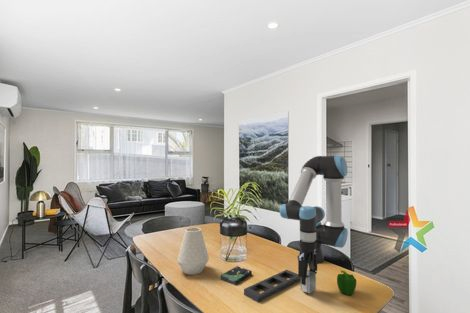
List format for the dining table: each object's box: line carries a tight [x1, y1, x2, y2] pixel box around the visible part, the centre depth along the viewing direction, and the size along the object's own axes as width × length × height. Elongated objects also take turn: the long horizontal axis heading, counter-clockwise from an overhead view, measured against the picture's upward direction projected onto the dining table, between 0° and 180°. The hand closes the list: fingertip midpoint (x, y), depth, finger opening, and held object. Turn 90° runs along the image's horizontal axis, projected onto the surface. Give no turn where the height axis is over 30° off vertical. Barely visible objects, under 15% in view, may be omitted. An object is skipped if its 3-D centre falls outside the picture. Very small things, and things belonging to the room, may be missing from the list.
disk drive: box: [220, 265, 253, 286], centre depth 138 cm, size 10×3×15 cm
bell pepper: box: [336, 270, 357, 296], centre depth 123 cm, size 8×8×10 cm
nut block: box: [300, 269, 317, 294], centre depth 123 cm, size 5×5×8 cm
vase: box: [176, 227, 209, 276], centre depth 146 cm, size 18×17×23 cm
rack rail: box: [243, 269, 301, 303], centre depth 128 cm, size 32×9×2 cm, turn 131°
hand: (308, 288), depth 123 cm, fingers closed on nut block, 5 cm apart
